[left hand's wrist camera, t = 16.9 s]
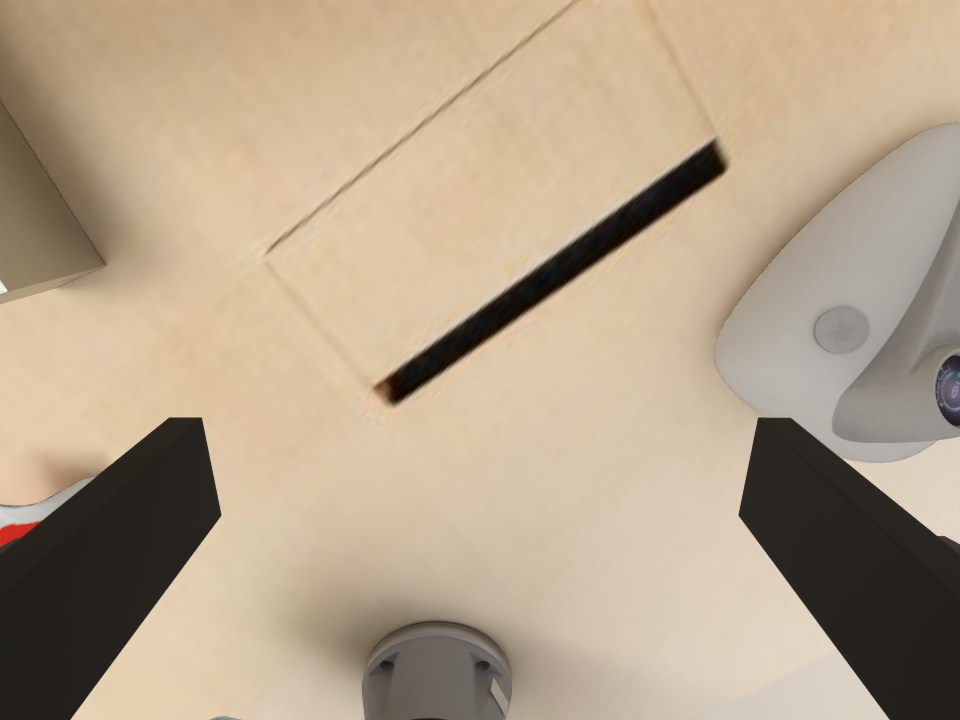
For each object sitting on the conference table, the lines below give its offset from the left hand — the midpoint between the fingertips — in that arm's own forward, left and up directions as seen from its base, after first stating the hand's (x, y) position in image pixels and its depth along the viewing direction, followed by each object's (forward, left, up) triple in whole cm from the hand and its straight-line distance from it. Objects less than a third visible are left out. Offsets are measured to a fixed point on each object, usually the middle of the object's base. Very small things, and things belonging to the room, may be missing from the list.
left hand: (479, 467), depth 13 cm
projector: (-2, -29, -30) cm, 41 cm away
